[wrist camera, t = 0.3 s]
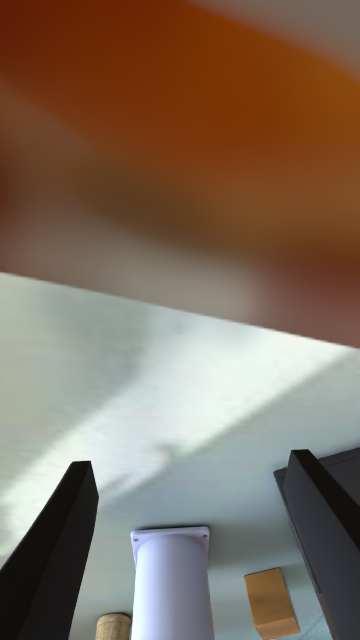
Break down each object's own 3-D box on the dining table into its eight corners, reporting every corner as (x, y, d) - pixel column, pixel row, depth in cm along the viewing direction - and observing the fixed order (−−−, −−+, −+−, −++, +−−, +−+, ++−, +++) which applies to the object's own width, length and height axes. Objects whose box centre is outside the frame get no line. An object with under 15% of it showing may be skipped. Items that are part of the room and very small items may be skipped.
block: (286, 583, 36) (301, 632, 32) (252, 591, 36) (263, 640, 33) (279, 567, 34) (294, 617, 30) (244, 575, 35) (254, 626, 31)
